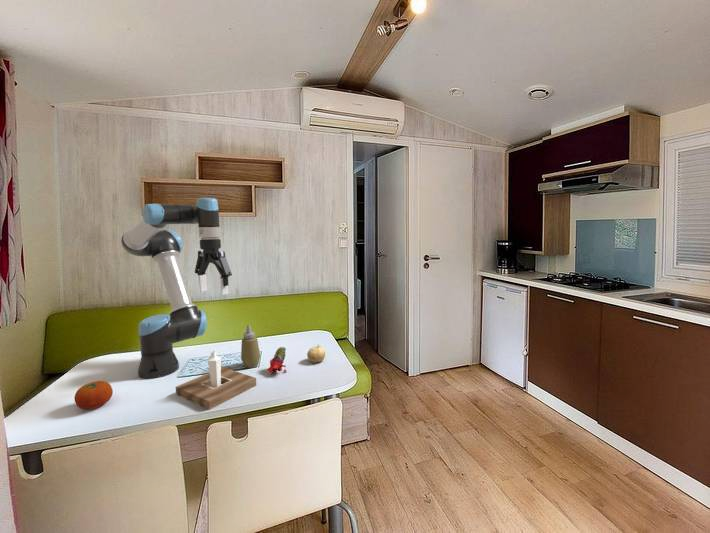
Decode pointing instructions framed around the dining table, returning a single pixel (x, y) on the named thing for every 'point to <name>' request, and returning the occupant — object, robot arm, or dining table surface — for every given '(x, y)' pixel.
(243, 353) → the squeeze bottle
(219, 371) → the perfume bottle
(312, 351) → the onion
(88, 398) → the fruit
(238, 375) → the socket board
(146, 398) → the dining table surface
